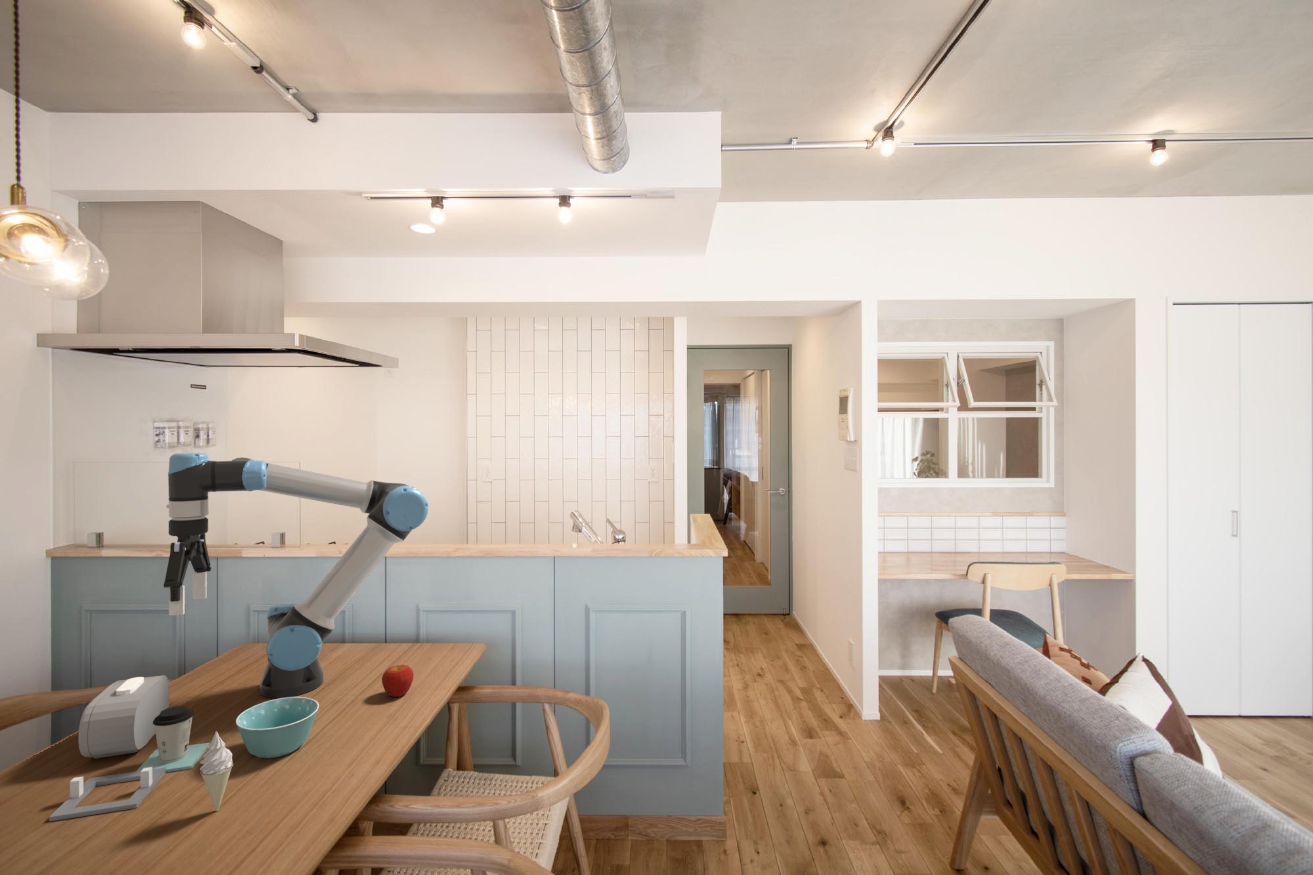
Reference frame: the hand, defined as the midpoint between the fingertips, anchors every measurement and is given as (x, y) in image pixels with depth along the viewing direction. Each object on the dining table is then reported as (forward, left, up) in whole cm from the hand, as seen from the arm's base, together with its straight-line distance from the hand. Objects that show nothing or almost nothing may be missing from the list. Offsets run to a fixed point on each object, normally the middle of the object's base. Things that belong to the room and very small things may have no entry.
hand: (188, 606), depth 146 cm
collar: (+3, +28, -29) cm, 40 cm away
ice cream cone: (-18, +40, -29) cm, 52 cm away
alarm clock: (+10, +5, -29) cm, 31 cm away
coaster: (-3, +17, -29) cm, 33 cm away
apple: (-46, -4, -29) cm, 55 cm away
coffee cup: (-3, +17, -28) cm, 33 cm away
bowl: (-23, +18, -29) cm, 41 cm away
